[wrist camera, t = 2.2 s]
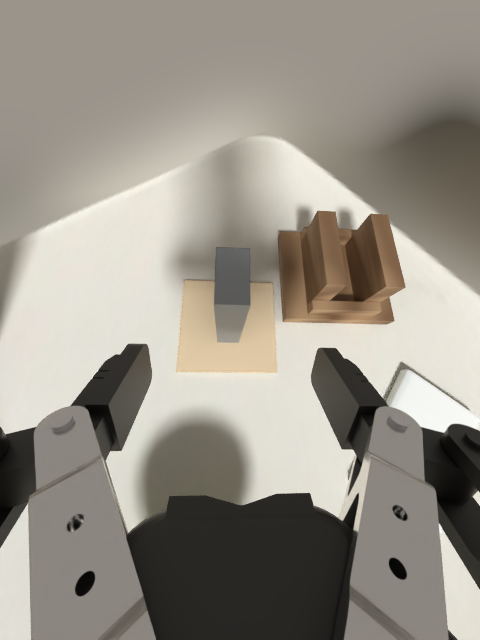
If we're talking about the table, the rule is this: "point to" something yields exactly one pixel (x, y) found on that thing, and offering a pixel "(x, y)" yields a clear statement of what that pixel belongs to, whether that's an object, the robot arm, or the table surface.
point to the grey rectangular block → (231, 292)
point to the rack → (339, 272)
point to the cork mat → (201, 338)
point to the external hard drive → (428, 404)
